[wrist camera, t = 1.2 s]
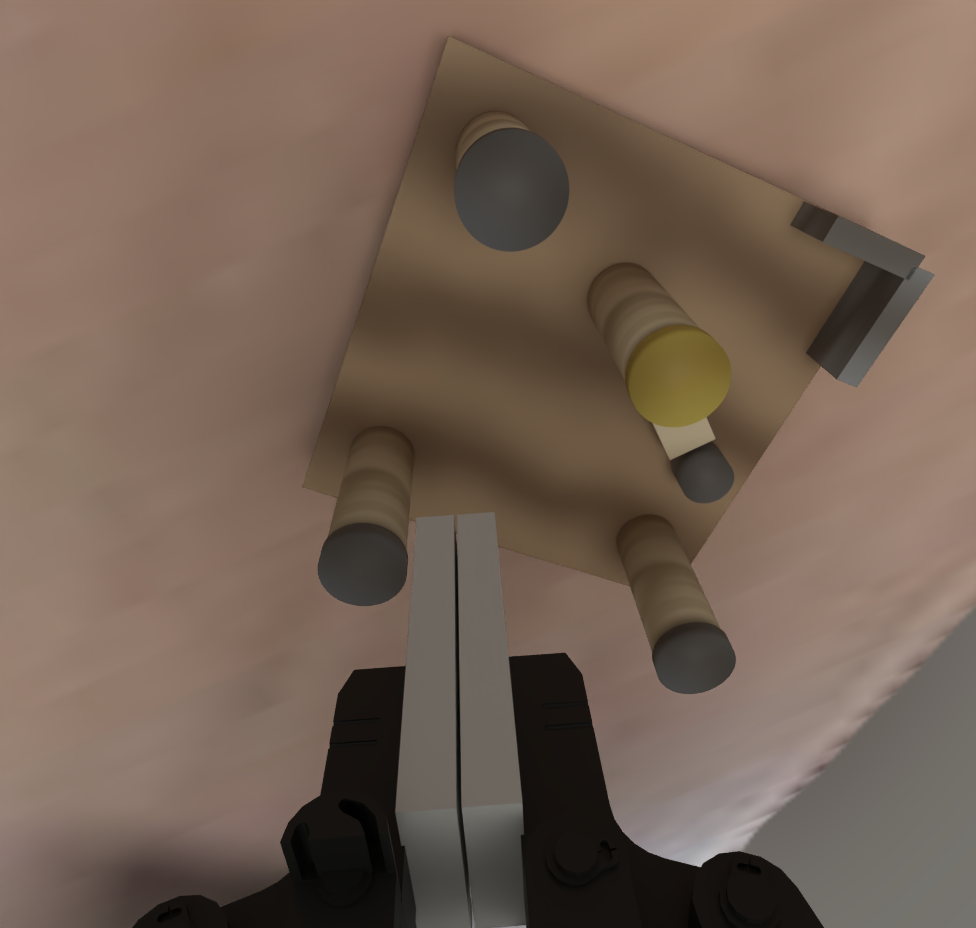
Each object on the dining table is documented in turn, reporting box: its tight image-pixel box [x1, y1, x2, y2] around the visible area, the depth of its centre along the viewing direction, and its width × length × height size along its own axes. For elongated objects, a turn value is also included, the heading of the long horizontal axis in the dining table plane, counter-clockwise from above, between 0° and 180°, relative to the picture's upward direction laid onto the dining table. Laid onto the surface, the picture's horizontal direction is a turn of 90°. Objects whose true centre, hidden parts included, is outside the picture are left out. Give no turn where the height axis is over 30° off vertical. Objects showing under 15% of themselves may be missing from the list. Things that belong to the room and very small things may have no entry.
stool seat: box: [303, 36, 934, 694], centre depth 30 cm, size 20×20×11 cm
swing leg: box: [588, 263, 734, 504], centre depth 29 cm, size 12×3×9 cm, turn 28°
